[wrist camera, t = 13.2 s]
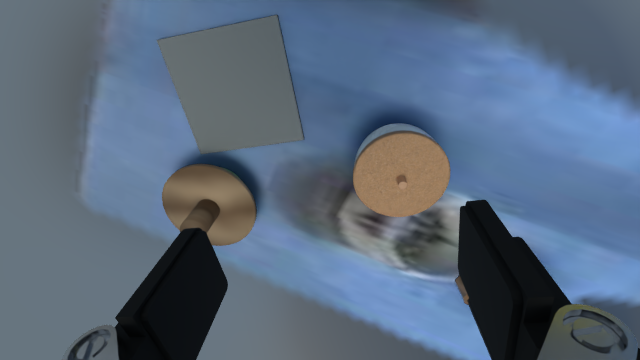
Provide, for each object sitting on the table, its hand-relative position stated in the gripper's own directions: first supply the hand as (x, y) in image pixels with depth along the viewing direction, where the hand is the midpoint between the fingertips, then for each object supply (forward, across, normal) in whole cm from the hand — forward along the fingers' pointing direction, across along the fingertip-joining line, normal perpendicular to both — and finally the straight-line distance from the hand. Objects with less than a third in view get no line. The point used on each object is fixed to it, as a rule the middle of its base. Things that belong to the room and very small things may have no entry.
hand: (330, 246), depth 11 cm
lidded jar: (+31, -5, +10) cm, 32 cm away
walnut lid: (+26, +21, +13) cm, 36 cm away
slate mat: (+30, +14, -1) cm, 33 cm away
